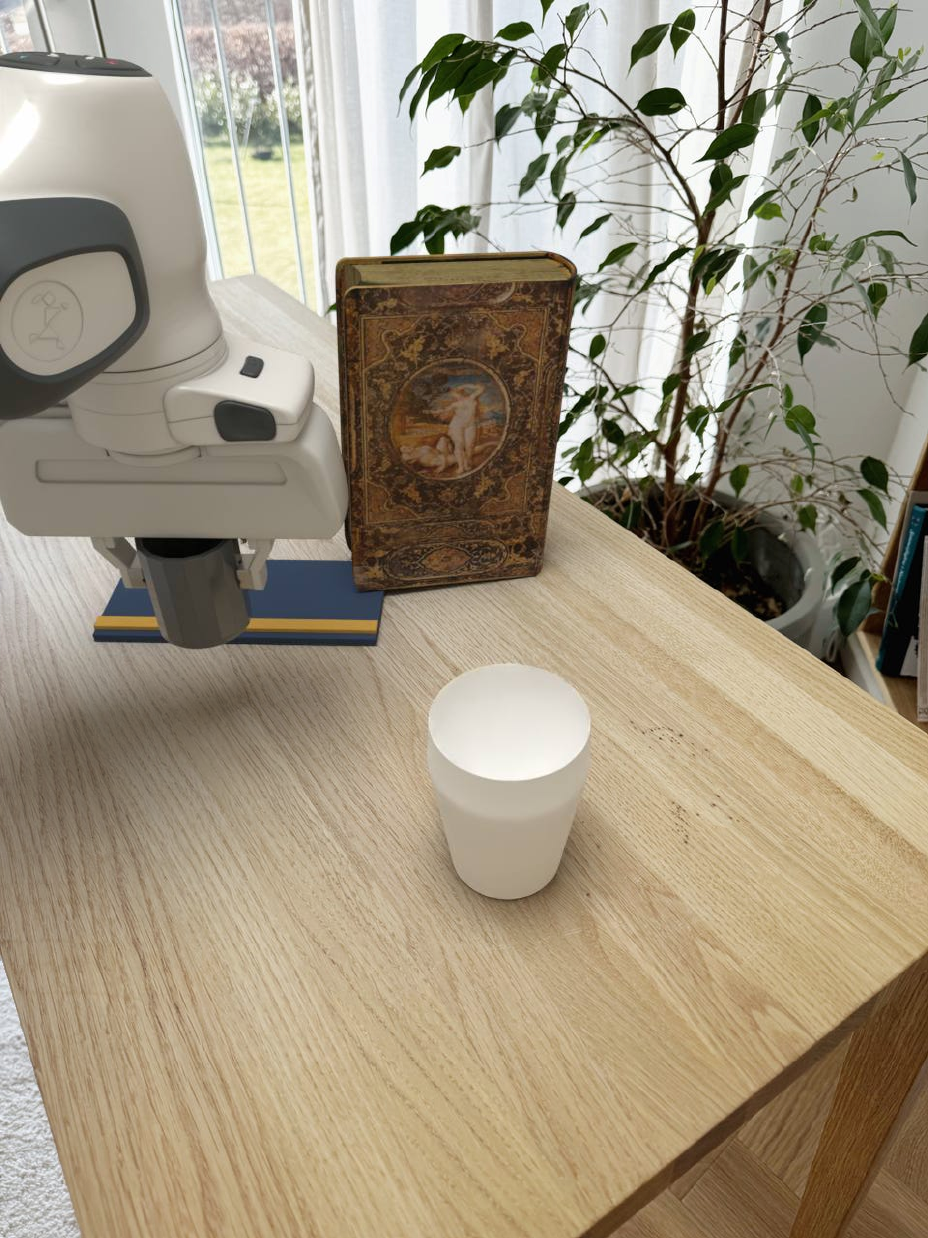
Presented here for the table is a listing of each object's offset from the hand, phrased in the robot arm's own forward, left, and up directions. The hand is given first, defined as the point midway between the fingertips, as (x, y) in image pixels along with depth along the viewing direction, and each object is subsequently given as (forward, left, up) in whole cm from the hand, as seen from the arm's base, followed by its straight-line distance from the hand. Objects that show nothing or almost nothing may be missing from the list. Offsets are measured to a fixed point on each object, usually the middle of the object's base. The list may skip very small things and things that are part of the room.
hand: (198, 583), depth 62 cm
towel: (-1, +12, -11) cm, 17 cm away
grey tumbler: (0, 0, -3) cm, 3 cm away
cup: (+20, -12, -12) cm, 26 cm away
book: (+15, +17, -11) cm, 25 cm away
